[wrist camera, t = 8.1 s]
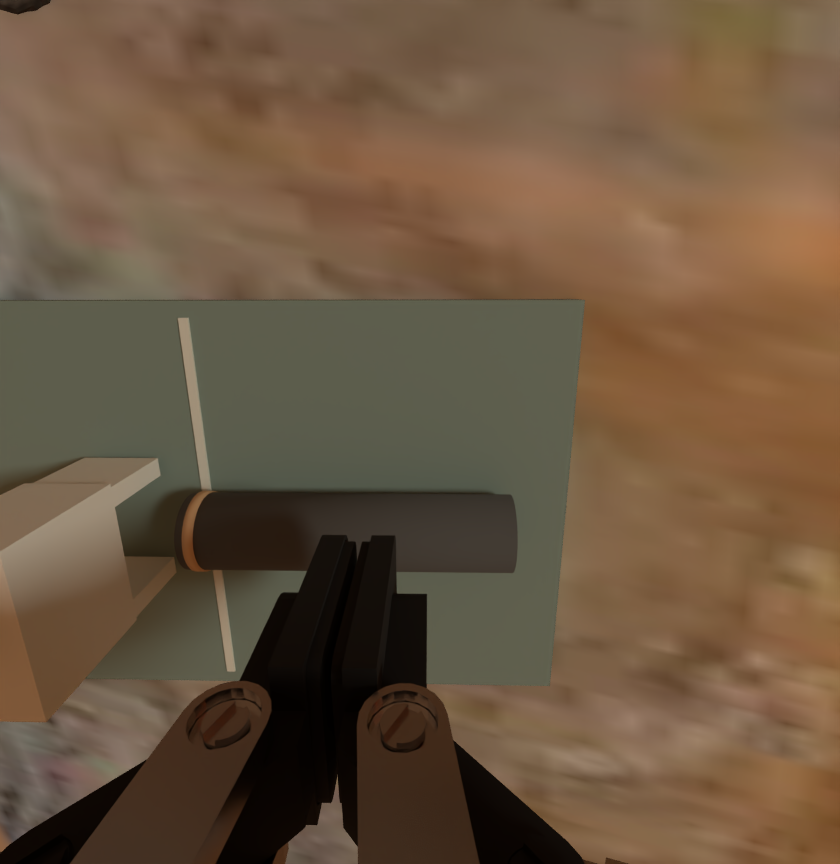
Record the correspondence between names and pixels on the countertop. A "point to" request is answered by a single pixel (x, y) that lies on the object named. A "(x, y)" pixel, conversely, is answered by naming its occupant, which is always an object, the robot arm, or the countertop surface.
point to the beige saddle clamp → (68, 580)
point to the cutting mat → (307, 448)
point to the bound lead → (346, 529)
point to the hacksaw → (22, 5)
